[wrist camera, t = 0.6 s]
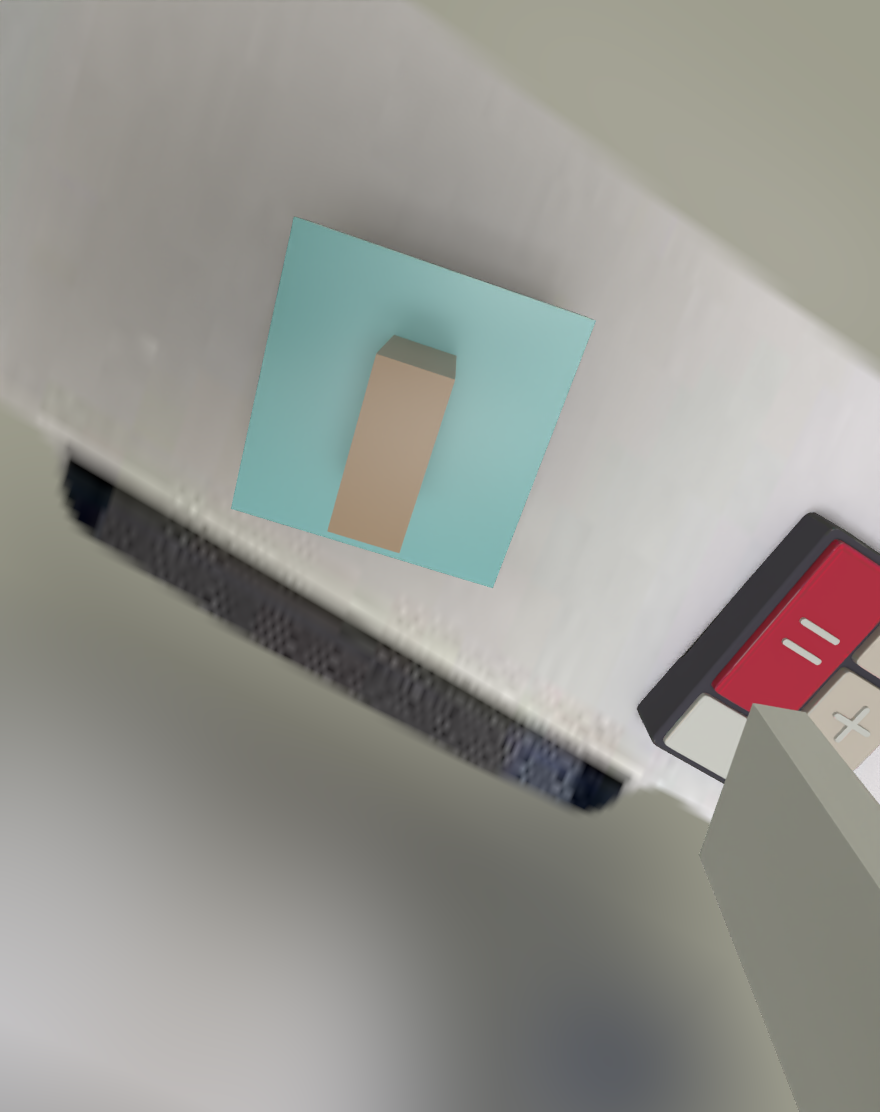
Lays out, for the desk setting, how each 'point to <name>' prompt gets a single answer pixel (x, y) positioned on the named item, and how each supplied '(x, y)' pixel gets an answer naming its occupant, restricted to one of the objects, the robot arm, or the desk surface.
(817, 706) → the calculator
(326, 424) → the lid
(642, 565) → the desk surface
